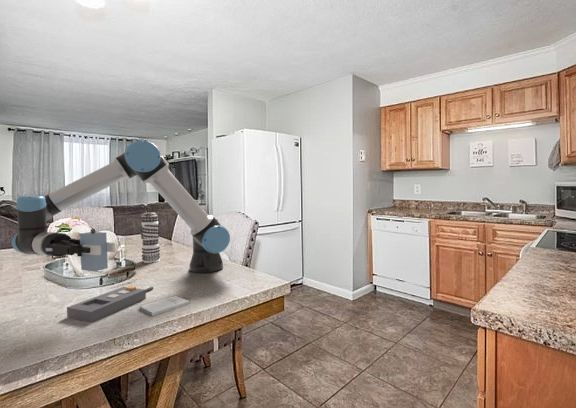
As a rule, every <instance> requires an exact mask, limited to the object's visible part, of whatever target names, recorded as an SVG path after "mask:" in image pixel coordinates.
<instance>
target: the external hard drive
mask: <svg viewBox="0 0 576 408" xmlns="http://www.w3.org/2000/svg"><path fill="white" fill-rule="evenodd" d="M188 304H190V301H189V300H187V299H184V298H182V297H179V296H177V295H174V296H172V297H168V298H164V299H161V300H157V301H154V302H150V303H147V304H144V305H140V306H139V308H138V309H139V311H141V312H143V313H146V314H147V315H150V316H151V317H154V316H157V315H160V314H162V313H166V312H168V311H171V310H175V309H177V308H180V307H183V306H186V305H188Z"/></svg>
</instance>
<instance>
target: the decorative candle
mask: <svg viewBox="0 0 576 408" xmlns="http://www.w3.org/2000/svg"><path fill="white" fill-rule="evenodd" d="M158 216H159V215H158V214H157V213H156V212H153V211H152V212H151V211H150V212H144V213H142V214H141V226H140V227H139V228H140V239H141V240H142V244H141V246H142V248H141V253H142V254H141V259H142V260H141V261H142V263H143V262H144V264H152V262H153V263H157V261H158V262H160V261H161V259H160V258H161V256H160V255H161V253H160V251H161V250H160V248H161V247H160V244H159V243H160V241H159V239H160V236H159V235H160V234H161V233H160V229H159V228H161V225H160V222H159V217H158Z"/></svg>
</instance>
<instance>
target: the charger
mask: <svg viewBox="0 0 576 408" xmlns="http://www.w3.org/2000/svg"><path fill="white" fill-rule="evenodd" d="M79 239H80V245H81V247H82V245H84V244H85V245H98V246H101V255H89V254H83V253H82V256H80V266H81V267H80V269H81V271H89V272H98V271H102V270H106V269H108V268H109V264H108V252H107V242H108V240H107V239H108V237H107V232H103V231H102V232H100V231H96V229H95V228H92V229H90V231H89V232H82V233H79Z"/></svg>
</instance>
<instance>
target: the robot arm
mask: <svg viewBox="0 0 576 408" xmlns="http://www.w3.org/2000/svg"><path fill="white" fill-rule="evenodd" d="M169 166H170V165H169V162H168V161H167V159H165V157H164V156H163V155H162V154H161V151H160V149H159V148H158V146H156V145H155V144H154V143H153V142H151V141H148V140H146V139H145V140H144V139H139V140H135V141H133V142H131V143H129V145H127V147H126V148H125V151H124V152H123V153H122V154H120V155H118V156H116V157H115V158H114V159H113V162H110V163H109V164H106V165H104V166H103V167H101V168H98V169H97V170H94V171H92V172H91V173H89V174H86V175H85V176H83V177H80V178H79V179H77V180H74V181H72V182H71V183H68V184H66V185H65V186H62V187H61V188H59V189H57V190H55V191H52V192H51V193H48V194H47V195H45V196H44V195H20V196H18V197H17V198H16V206H15V209H16V216H17V233H15V234H14V235H13V237H12V239H11V246H12V248H13V249H14V250H15V251H16V252H18V253H22V254H25V255H37V256H46V258H50V257H55V258H56V257H57V258H58V257H59V258H60V257H64V256H74V255H77V256H76V257H81V256H82V253H83V254H89V255H101V246H98V245H85V244H84V245H82V247H81V245H80V238H79V239H77V238H71V236H70V235H68V234H66V233H64V232H63V233H62V232H50V231H48V222H47V221H48V220H49V219H51V218H52V217H54V216H56V215H58V214H59V213H61V212H63V211H65V210H66V209H69V208H71V207H72V206H75V205H76V204H79V203H80V202H83V201H84V200H86V199H88V198H89V197H92V196H93V195H94V196H95V194H97V193H99V192H102V191H103V190H105V189H107V188H108V187H111V186H113V185H115V184H117V183H119V182H121V181H122V180H124V179H126V180H130V179H132V178H133V177H135V176H138V177H139V179H140V180H141V181H142V183H147V184H148V183H149V184H151V186H152V187H153V188H154V189H155V191H157V193H158V194H159V195H160V196H161V197H162V198H163V199H164V200H165V201H166V203H167V204H168V205H169V206H170V207H171V208H172V209H173V211H174V212H175V213H176V214H177V215H178V216H179V217H180V218H181V220H183V221H184V223H185V224H186V225H187V226H188V227H189V228H190V235H191V236H192V255H191V259H190V261H189V265H188V266H189V271H190V272H192V273H197V272H198V273H203V274H205V272H207V273H214V272H217V270H218V271H221V270H223V269H224V262H223V259H222V256H221V254H220V253H221V252H223V251H225V250H226V249H227V248H228V247H229V245H230V242H231V241H230V240H231V234H230V233H229V231H228V229H227V228H226V227H225V226H223V225H222V224H221V223H220V222H219V220H218V219H217V218H216V217H214V215H209V214H207V213H206V211H204V209H203V208H202V207H201V206H200V205H199V203H198V202H197V201H196V199H194V198H193V196H192V195H191V194H190V193H189V192H188V191H187V190H186V188H185V187H184V185H183V184H181V182H180V181H179V180H178V179H177V178H176V177H175V175H174V174H173V173H172V172H171V171H170V169H169ZM115 245H116V244H115V242H110V241H109V242H108V241H107V253H115V252H116V246H115ZM220 269H221V270H220ZM213 271H214V272H213Z"/></svg>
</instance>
